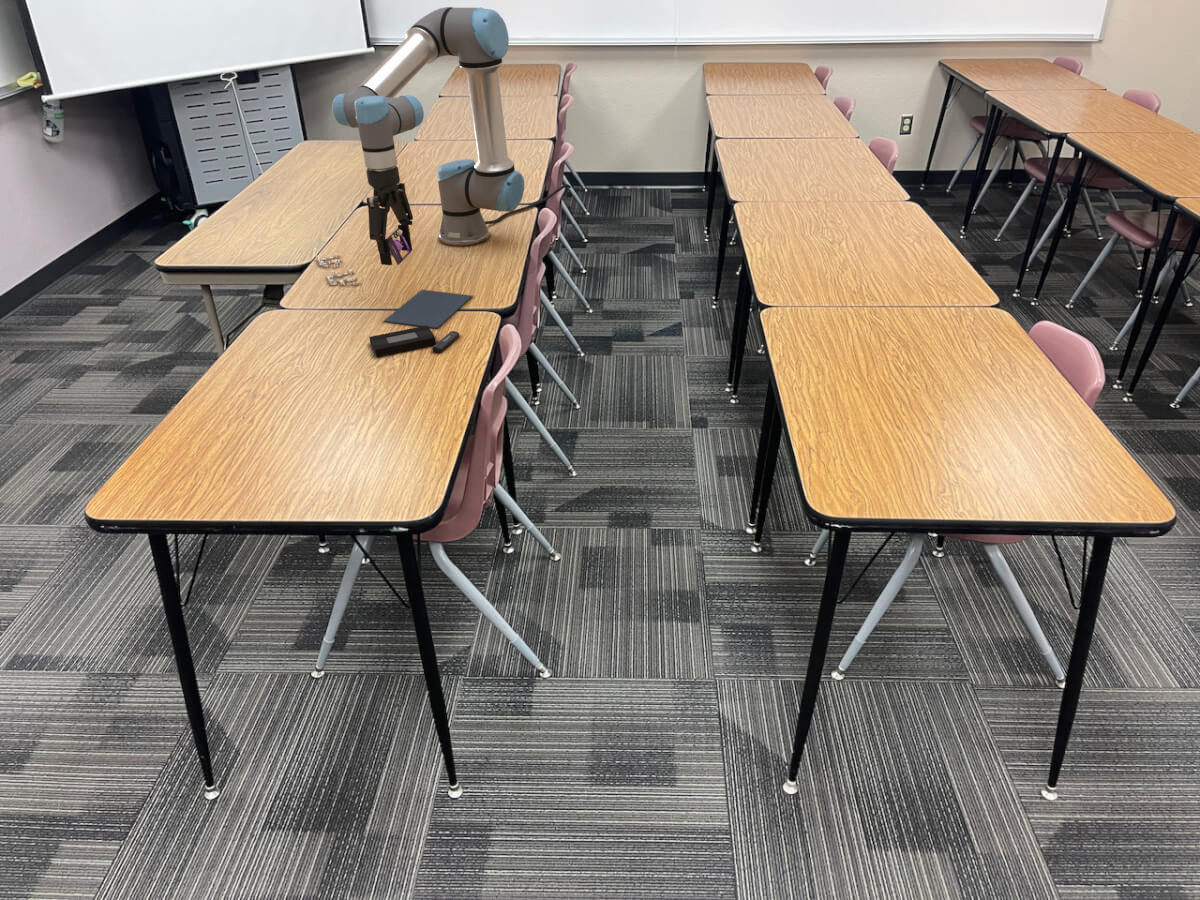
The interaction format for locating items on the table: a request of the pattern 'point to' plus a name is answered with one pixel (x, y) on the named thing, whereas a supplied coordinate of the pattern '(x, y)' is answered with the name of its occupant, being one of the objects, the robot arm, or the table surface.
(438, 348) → the usb stick
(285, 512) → the table surface
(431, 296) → the mat
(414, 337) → the vhs tape
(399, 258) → the game card
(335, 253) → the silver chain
